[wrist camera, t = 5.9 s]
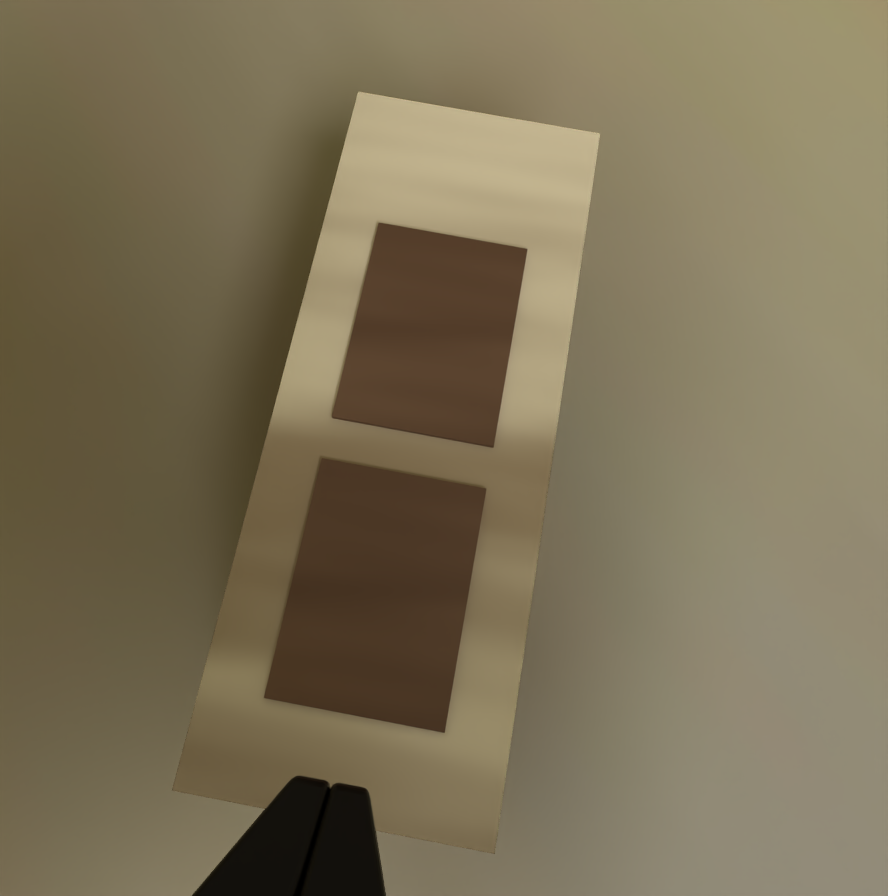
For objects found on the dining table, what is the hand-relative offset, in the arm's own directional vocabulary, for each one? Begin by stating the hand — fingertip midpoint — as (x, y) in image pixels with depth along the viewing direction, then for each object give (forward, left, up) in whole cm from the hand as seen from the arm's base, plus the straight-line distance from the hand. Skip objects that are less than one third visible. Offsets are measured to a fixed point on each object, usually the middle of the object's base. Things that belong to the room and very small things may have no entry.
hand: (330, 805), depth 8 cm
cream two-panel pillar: (-1, 0, -5) cm, 5 cm away
